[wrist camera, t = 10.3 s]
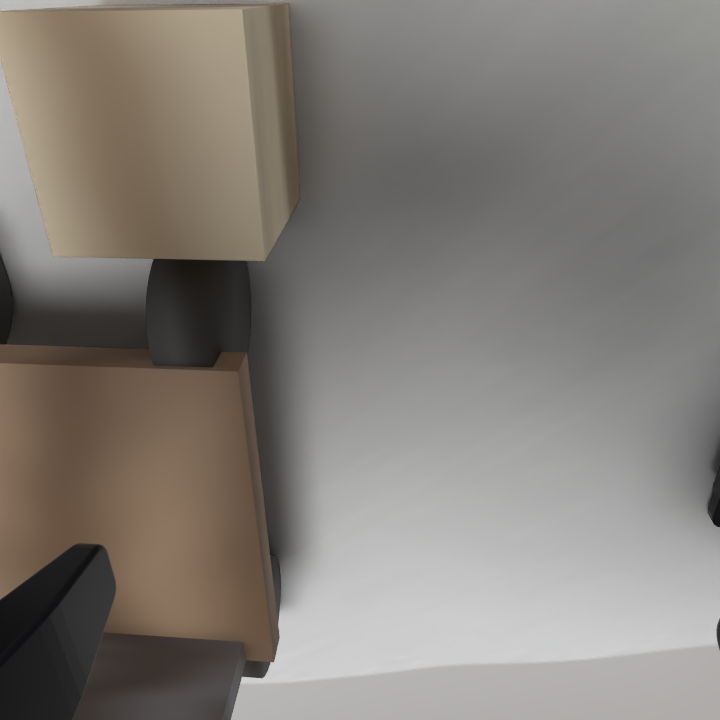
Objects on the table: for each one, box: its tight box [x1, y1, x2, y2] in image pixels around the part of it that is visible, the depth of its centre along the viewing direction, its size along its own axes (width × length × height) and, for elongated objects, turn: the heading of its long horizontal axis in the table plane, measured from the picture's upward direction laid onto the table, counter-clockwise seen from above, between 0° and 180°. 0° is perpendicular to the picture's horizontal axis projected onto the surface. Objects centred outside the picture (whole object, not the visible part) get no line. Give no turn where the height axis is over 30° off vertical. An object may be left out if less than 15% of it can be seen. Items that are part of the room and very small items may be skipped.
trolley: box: [0, 259, 281, 720], centre depth 20 cm, size 11×17×8 cm, turn 0°
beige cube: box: [0, 3, 300, 261], centre depth 16 cm, size 5×5×5 cm
